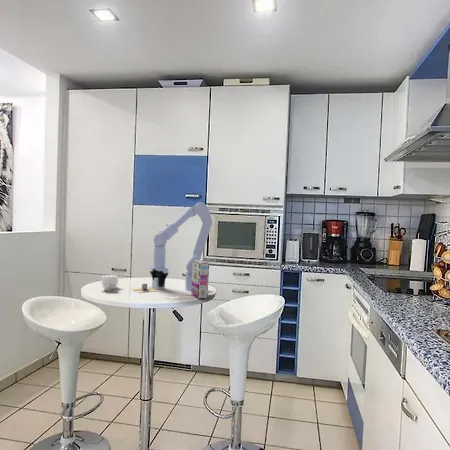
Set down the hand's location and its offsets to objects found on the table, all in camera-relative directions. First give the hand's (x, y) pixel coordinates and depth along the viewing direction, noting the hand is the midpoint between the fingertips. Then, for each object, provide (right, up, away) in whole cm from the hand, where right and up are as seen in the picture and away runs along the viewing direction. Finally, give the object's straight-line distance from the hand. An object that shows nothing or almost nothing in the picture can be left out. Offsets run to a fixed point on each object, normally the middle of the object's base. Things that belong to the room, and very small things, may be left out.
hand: (158, 286), depth 193 cm
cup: (-23, -2, -3) cm, 23 cm away
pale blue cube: (0, -1, 0) cm, 1 cm away
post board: (-4, -2, -4) cm, 6 cm away
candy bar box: (+21, -3, -12) cm, 24 cm away
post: (-6, -2, -7) cm, 9 cm away
